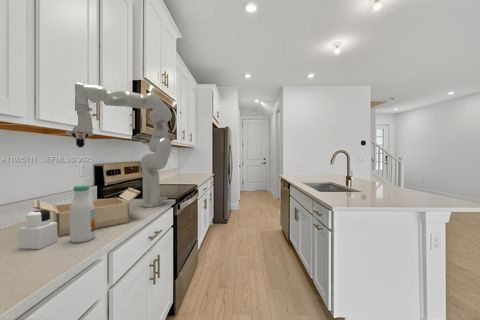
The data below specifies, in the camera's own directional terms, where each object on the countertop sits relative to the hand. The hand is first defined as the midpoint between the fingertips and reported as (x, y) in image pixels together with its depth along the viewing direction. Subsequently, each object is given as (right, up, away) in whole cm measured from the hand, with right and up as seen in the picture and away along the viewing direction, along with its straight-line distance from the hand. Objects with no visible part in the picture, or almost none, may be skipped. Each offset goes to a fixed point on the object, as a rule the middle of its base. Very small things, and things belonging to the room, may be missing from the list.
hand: (80, 147), depth 109 cm
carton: (+10, -35, -7) cm, 37 cm away
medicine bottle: (+7, -36, -30) cm, 48 cm away
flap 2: (+20, -25, +2) cm, 33 cm away
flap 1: (+1, -26, -16) cm, 31 cm away
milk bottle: (+19, -36, -25) cm, 48 cm away
